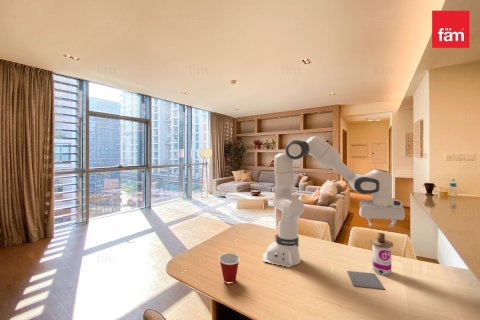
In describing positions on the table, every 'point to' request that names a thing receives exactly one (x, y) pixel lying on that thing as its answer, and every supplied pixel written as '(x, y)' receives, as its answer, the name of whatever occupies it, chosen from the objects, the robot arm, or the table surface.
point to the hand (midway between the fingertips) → (381, 226)
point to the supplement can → (381, 260)
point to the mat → (365, 280)
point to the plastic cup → (229, 266)
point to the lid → (381, 241)
